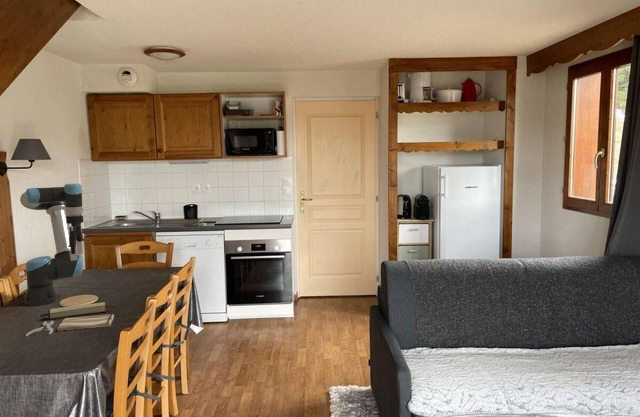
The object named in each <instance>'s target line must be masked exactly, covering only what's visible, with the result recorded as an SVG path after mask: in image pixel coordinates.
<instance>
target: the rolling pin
mask: <svg viewBox="0 0 640 417" xmlns="http://www.w3.org/2000/svg"><path fill="white" fill-rule="evenodd" d="M115 307H116V305H115V304H111V305H108V303H107V301H105V302H103V301H102V302H97V303H96V302H94V303H86V304H79V305H72V306H70V305H69V306H64V307H56V308H49V309H48V312H47V313H43V314H40V315H39V317H40V318H44V317H48V320H53V319H61V318H68V317H74V316H80V315H88V314H97V313H104V312H106V313H108V308H115Z"/></svg>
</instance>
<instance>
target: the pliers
mask: <svg viewBox="0 0 640 417" xmlns="http://www.w3.org/2000/svg"><path fill="white" fill-rule="evenodd" d="M52 325H54V320H51V321H49V322H47V320H45V321H44V322H43V323H42V326H41V327H39V328H35V329H31V330H30V331H29V332H27V333H25V336H24V337H28V336H30V335H31V334H33V333H37V332H40V331H42V330H43V329H44V331H48V335H51V334H52V333H53V332H54V328H53V327H51V326H52Z"/></svg>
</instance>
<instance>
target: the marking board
mask: <svg viewBox="0 0 640 417" xmlns="http://www.w3.org/2000/svg"><path fill="white" fill-rule="evenodd" d="M114 318H115V313H109V314H108V313H107V314H99V315H98V314H97V315H87V316H76V317H74V316H73V317H64V319H63V320H62V321H61V322H60V324H59V325H58V327H56V328H57V332H65V331H64V330H67V331H75V330H74V329H77V330H85V328H87V329H95V328H97V327H98V328H105V327H111V324H112V323H113V321H114ZM98 328H97V329H98Z"/></svg>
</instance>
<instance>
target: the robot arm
mask: <svg viewBox="0 0 640 417" xmlns="http://www.w3.org/2000/svg"><path fill="white" fill-rule="evenodd" d="M82 189H83V188H82V185H81V184H80V183H67V184H64V186H55V187H54V186H53V187H29V188H27V189H26V190H25V191H24V192H22V194H21V195H20V200H19V201H20V203H21V205H22V206H23V207H25V209H29V210H34V211H43V210H45V214H48V216H50V222H51V227H52V228H51V229H52V232H53V233H52V234H53V238H54V245H55V249H56V250H55V251H56V253H55V254H54V257H53V258H52V256H50V255H43V256H37V257H34V258H31V259H29V260H27V261H26V263H25V272H26V274H25V275H26V288H27V290H26V292H25V296H24V302H23V303H24V305H25V306H42V305H47V304H51V303H54V302H57V301H58V300H59V299H58V293H57V290H56V289H55V287H54V281H57V280H64V279H71V278H75V277H80V276H81V275H82V274H83V268H84V258H83V254H84V252H83V251H84V247H83V242H84V241H85V238H84V236H83V230H82V224H83V223H84V215H83V214H84V210H85V209H84V207H83V190H82Z"/></svg>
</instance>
